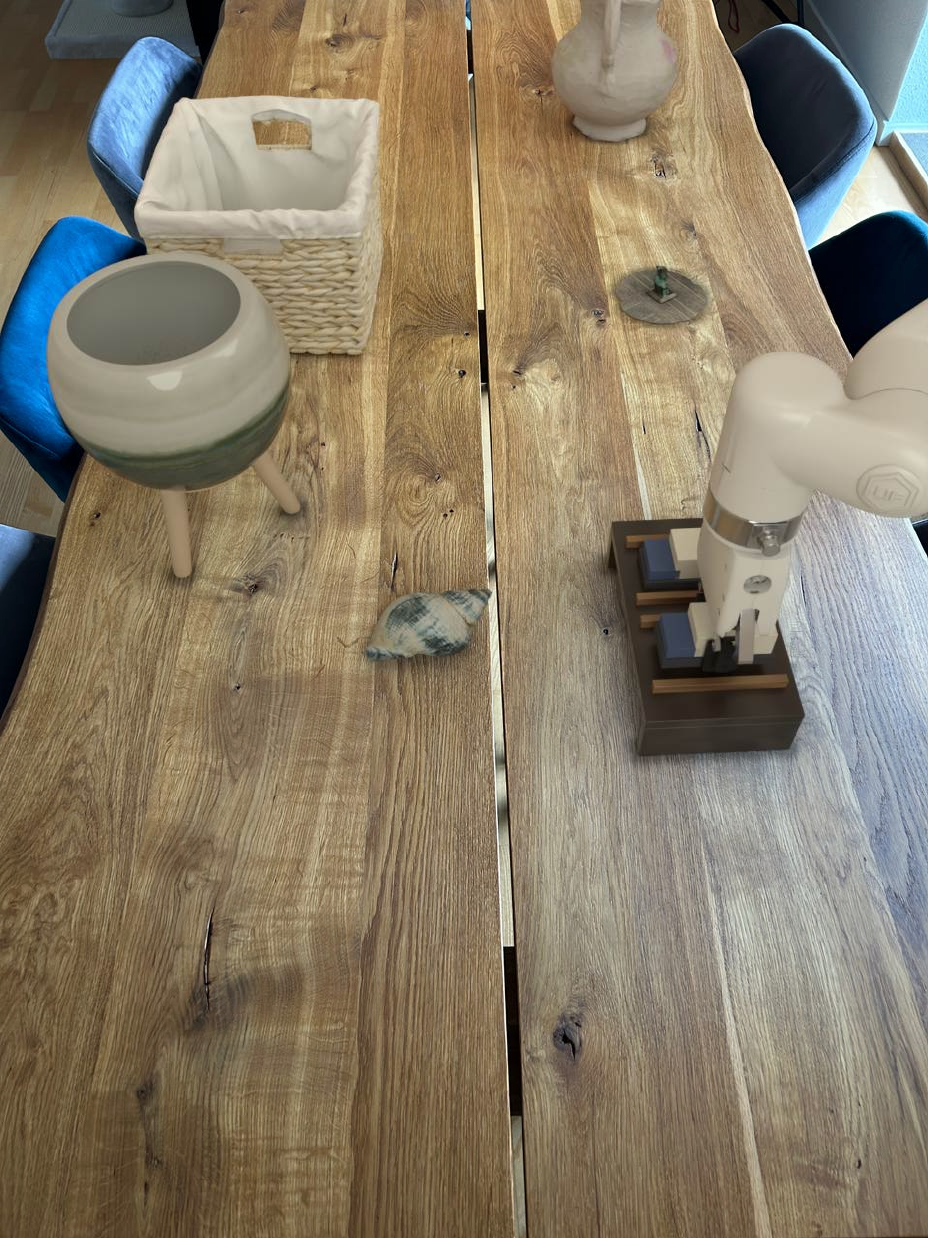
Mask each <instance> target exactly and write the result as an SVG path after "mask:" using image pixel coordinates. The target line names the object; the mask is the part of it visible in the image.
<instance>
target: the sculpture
mask: <svg viewBox="0 0 928 1238" xmlns="http://www.w3.org/2000/svg"><path fill="white" fill-rule="evenodd" d="M615 295H616V297H617V298H618V299H619V300H621V301H622V302H621V303H620V309H621V310H622V311H623V312H624V313H626V314H627V315H628V316H630V317H632V318H633V319H637V320H639V321H640V320H641V321H645V322H649V323H654V324H658V325H662V324H676V323H680V322H687V321H690V320H692V319H694V318H696V317H697V316H698V315H699V314H700V312H702V311H703V309H704V307H705V306H706V304H707V295H706V292H705V291H704V288H703V287H702V286H701V285H699V284H696V283H694V282H693V281H692V280H691V279H690V278H688V277H687V276H685V275H683V274H682V273H679V272H675V271H671V270H668V268H666V265H665V266H663V265H660V266H659V265H656V266H655V269H646V270H645V269H644V270H640V271H636V272H634V273H633V274H632V275H627V276H625V277H624V278H623V279H622V280H620V283H619V284H618V286H617V287H616V289H615Z"/></svg>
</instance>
